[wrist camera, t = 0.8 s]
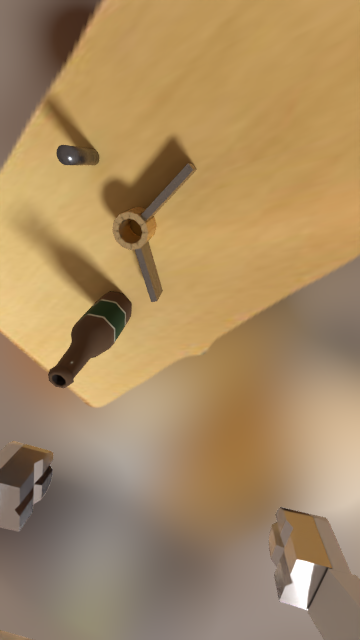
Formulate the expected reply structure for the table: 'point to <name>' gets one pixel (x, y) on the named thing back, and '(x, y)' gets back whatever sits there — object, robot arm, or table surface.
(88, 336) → the beer bottle
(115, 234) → the hinge
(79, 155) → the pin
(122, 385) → the table surface
